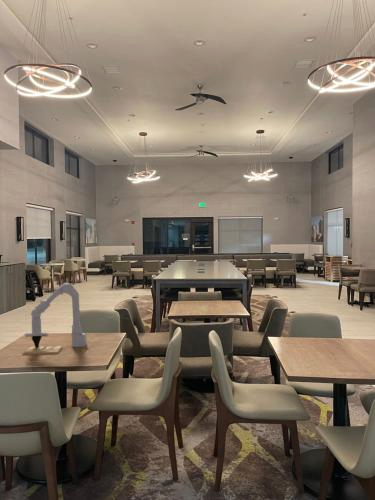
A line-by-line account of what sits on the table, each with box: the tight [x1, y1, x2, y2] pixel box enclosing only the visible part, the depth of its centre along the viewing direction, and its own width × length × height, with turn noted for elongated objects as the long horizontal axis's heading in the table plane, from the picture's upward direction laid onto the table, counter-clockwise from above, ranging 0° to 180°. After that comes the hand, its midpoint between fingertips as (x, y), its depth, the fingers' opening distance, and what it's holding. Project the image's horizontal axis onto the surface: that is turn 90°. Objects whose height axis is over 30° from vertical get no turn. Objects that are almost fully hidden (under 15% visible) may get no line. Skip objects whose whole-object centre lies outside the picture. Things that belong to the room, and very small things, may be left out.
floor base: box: [22, 347, 64, 356], centre depth 264 cm, size 22×14×2 cm, turn 91°
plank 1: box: [27, 345, 46, 350], centre depth 267 cm, size 10×6×1 cm, turn 91°
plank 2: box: [44, 345, 64, 351], centre depth 267 cm, size 10×6×1 cm, turn 91°
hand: (37, 347), depth 268 cm, fingers closed, pressing on plank 1
